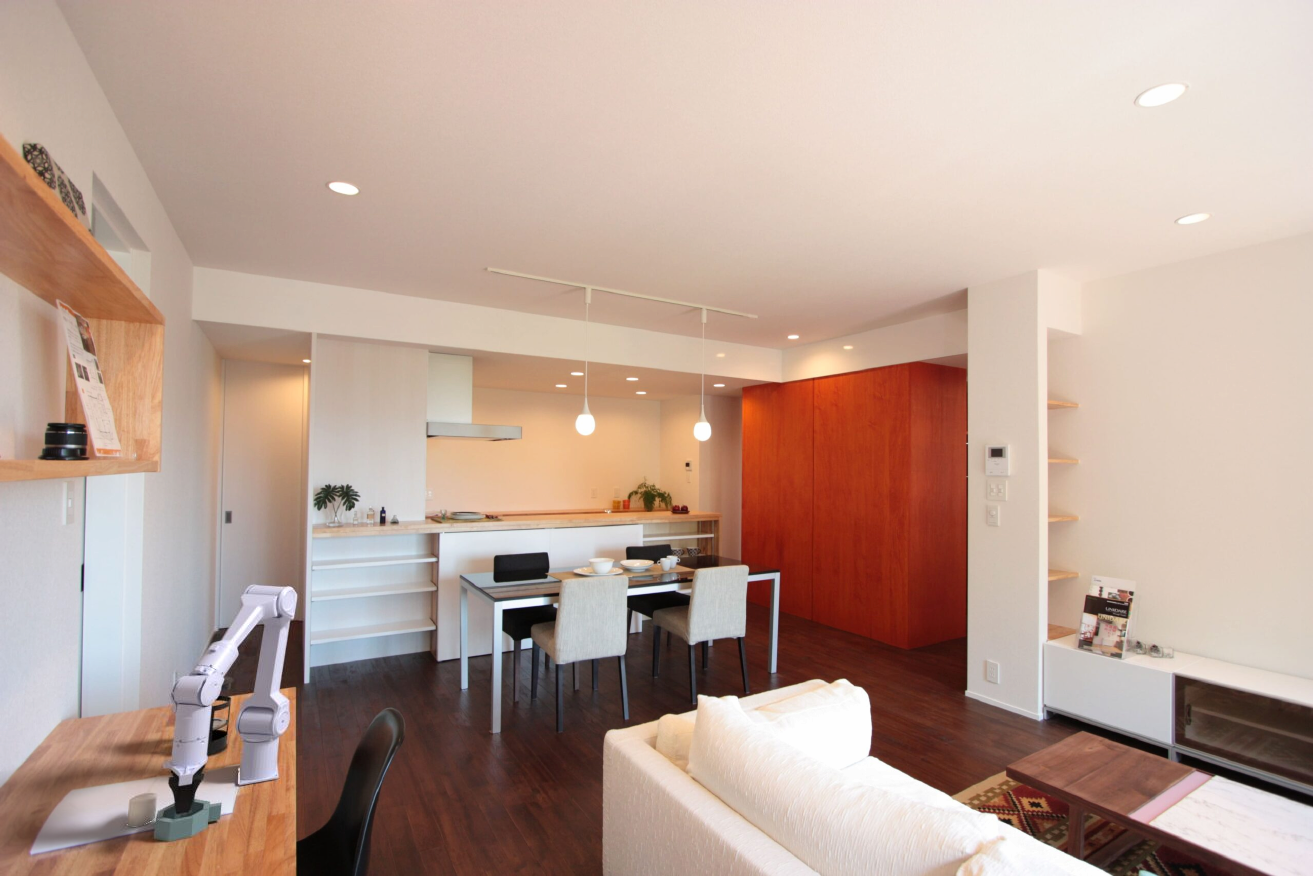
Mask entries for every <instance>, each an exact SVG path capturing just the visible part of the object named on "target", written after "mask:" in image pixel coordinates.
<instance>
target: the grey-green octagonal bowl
mask: <svg viewBox="0 0 1313 876" xmlns="http://www.w3.org/2000/svg"><path fill="white" fill-rule="evenodd" d="M174 803H175V802H173V803H171V804H169V805H167V806H165V807H164V808H163V807H162V808H160V809H159V810H157V811H156V812H157V813H156V815H155V820H154V821H155V822H154V831H153V839H154V840H159V841H163V842H173V841H178V840H184V839H188V838H192V837H193V836H195V835H197V834H200V833H201V832H203V831H204V830H206V829H208V823H209V822H214V821H218V820H219V821H220V820H221V816H222V815H221V813H222V804H223V802H217V803H211V801H209V800H203V799H199V798H198V799H197V798H195V800H194V803H193V804H192V807H191V809H190V811H189V812H187V813H186V817H184V818H180V814H176V810H175V806H174Z"/></svg>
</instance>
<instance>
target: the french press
mask: <svg viewBox="0 0 1313 876" xmlns="http://www.w3.org/2000/svg"><path fill="white" fill-rule="evenodd" d="M223 678H224V682H223V684H222V686H221V691H222V690H223V691H226V692H228V691H229V690H230V689H231V684H232V683H233V682H234V678H233V677H231V676H226V675H225V676H224V677H223ZM217 701H218V702H223V703H220V704H216V705H213V703H214V702H217ZM214 702H213V703H212V709H211V718H210V728H209V738H208V747H207V756H208V757H211V756H214V755H217V754H221V753H223V752H224V751H225V750H226V749H227V748H228V745H229V743H228V742H227V741H228V736H229V735H228V734H229V725H230V724H229V722H230V714H231V703H232V697H230V696H228V695H220V694H219V696H218V698H217V699H216V700H215V701H214ZM227 708H228V713H227V718H223V717H215V712H218V711H221V710H224V709H227ZM224 727H226V730H224V729H222V728H224Z"/></svg>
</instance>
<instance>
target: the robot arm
mask: <svg viewBox="0 0 1313 876" xmlns="http://www.w3.org/2000/svg"><path fill="white" fill-rule="evenodd" d="M297 601H298V594H297V592H296V591H295V589H294V588H293V587H292V586H274V585H258V584H250V585H248V586H247V587H246V588H245V590H244V591H243V593H242V595H241V596H240V598H239V610H238V612H237V613H236V615H235V617H234V619H233V620H232V622H231V623H230V625H229V627H228V628H227V629H226V631H225V633H224V635H223V637H222V638H221V639H220V640H218V641H215V642H213V643H211V644H210V646H209V647H208V648H207V649H206V651H205V652H204V653H203V655H202V656H201V658H200V659H199V661H198V662H197V663H195V666H194V667H193V668H192V669H191V671H190V672H189V673H188V674H186V675H183V676H182V677H181V676H180V678H178V679H177V680H176V682H175V683H174V685H173V686H172V691H171V692H170V693H169V694H170V695H169V698H170V702H171V704H172V705H173V706H172V707H173V710H172V712H173V714H174V715H175V720H174V721H175V722H174V731H173V739H172V749H171V759H170V760H167V761H164V762H163V765H162V766H163V767H162V769H163V770H164V769H170V772H171V774H172V776H170V777H168V783H167V784H168V786H169V788H170V790H171V793H172V796H173V803H175V810H176V814H182V813H187V812H189V811H190V809H191V807H192V803H193V800H194V796H195V797H196V794H197V793H196V792H197V790H198V789H199V786H200V785H201V783H202V781H203V780H204V778H205V773H202V772H203V771H204V769H205V767H206V763H207V762H208V759H209V756H207V747H208V738H209V728H210V718H211V709H212V706H213V704H212V703H215V702H216V701H215V700H216V699H217V698H218V696H219V695H220V694H221V691H222V689H221V686H222V684H223V682H224V678H223V677H224V676H226V674H227V673H228V671H229V670H230V669H231V668H232V666H233V664H234V663H235V661H236V660H237V658H238V656H239V650H238V647H239V646H240V645H241V644H242V642H243V641H244V640H245V639H246V638H247V637H248V635H249V634H250V633H251V631H252V630H253V629H254V627H256V626H257V624H258V623H259V622H261V623H262V624H263V625H264V628H263V633H262V639H261V646H260V652H259V656H258V657H259V659H258V664H257V670H256V671H257V672H256V677H255V682H254V687H253V688H254V690H253V693H252V694H251V695H250V696H249V697H247V698H245V699H244V700H243V701H242V702H241V704H240V705H241V706H240V709H239V712H238V715H237V716H236V719H235V723H234V724H235V731H236V733H237V734H239V735H240V736H239V737H240V738H239V739H240V740H242V747H241V757H240V759H241V760H240V766H239V767H240V782H239V785H238V786H243V785H248V784H249V785H250V784H255V783H261V782H266V781H272V780H277V779H279V769H278V768H279V767H278V766H279V765H278V755H279V754H278V753H279V752H278V751H279V745H280V744H279V742H280V736H282V735H283V733H284V732H286V730H287V729H288V727H289V724H290V720H291V714H290V700H289V699H288V698H287V697H286V696H285V695H284V694H283V693H281V692H280V688H281V683H282V682H281V681H282V674H283V669H284V663H285V656H286V650H287V649H286V648H287V645H288V644H287V643H288V638H289V637H288V636H289V629H290V623H291V621H293V620H294V618H295V613H296V608H297Z"/></svg>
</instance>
